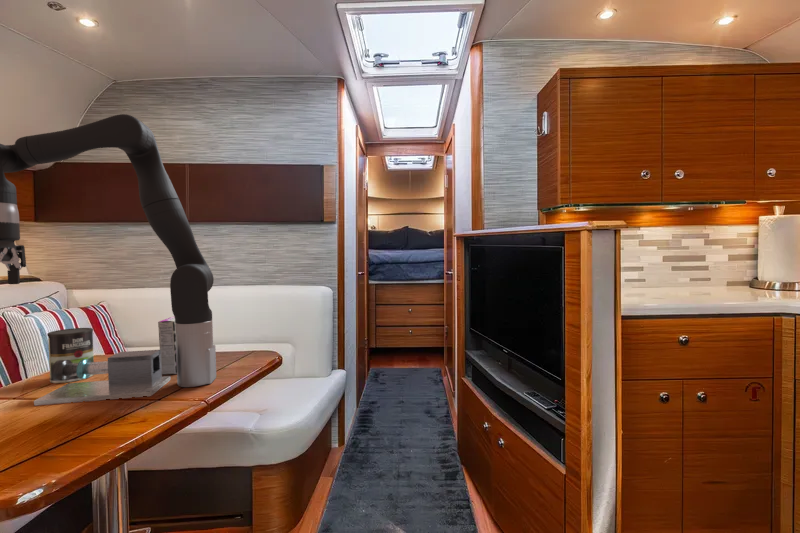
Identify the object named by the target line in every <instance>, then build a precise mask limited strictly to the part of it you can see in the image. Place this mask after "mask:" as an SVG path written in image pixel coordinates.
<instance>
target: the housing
mask: <svg viewBox="0 0 800 533" xmlns="http://www.w3.org/2000/svg"><path fill="white" fill-rule="evenodd" d="M107 361H108V375H107V377H108V379H107V380H96V381H82V382H80V381H79V382H67V383H66V384H64V385H63V386H60V387H59V388H57V389H55V390H52V391H50V392H49V393H46V394H45V395H43V396H40V397H39V398H37V399H35V400H33V404H34V405H33V406H49V405H59V404H60V405H61V404H71V402H73V403H83V401H85V402H95V401H107V400H106V399H110V400H119V398H122V399H130V398H131V399H133V398H132V397H135V398H144V397H143V396H147V397H152V396H153V395H154V394H155V393H157V392H158V391H159V390H160V389H161V388H163V387H164V386H165V385H167V383H169V382H170V381H171V375H162V369H161V350H160V349H150V350H149V349H147V350H146V349H145V350H131V351H129V350H128V351H120V352H117V353H115V354H113V355H111V356H109V357H107Z"/></svg>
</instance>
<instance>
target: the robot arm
mask: <svg viewBox="0 0 800 533" xmlns="http://www.w3.org/2000/svg"><path fill="white" fill-rule="evenodd" d="M108 148H109V149H110V148H112V149H114V148H118V149H119V150H121V151H123V152H124V153H125V155H126V156H127V158H128V160H129V161H130V163H131V164H132V167H133V169H134V171H135V174H136V178H137V183H138V184H137V185H138V195H139V196H138V197H139V202H140V205H141V207H142V210H143V212H144V215H145V217H146V220H147V222H148V224H149V226H150V227H151V229H152V230H153V231H154V233H155V235H156V236H157V238H159V240H160V241H161V242H162V244H163V245H164V246H165V247H166V249H167V250H168V251H169V253H170V255H171V257H172V260H173V262H174V264H175V268H176V269H175V270H173V273H172V274H171V277H170V281H169V282H170V283H169V284H170V285H169V289H170V290H169V291H170V292H169V293H170V303H171V304H170V305H171V312H172V314H173V316H174V317H175V333H176V361H177V374H176V382H177V386H178V387H182V388H194V387H199V386H204V385H209V384H212V383H213V382H214V381H215V379H217V357H216V355H217V354H216V353H217V352H216V351H217V350H216V345H215V344H214V332H213V331H214V330H213V328H214V327H213V311H212V309H211V308H210V305H209V294H208V293H209V292H210V290H211V289H212V288H213V285H214V280H215V279H214V275H213V272H212V270H211V268H210V267H209V265H208V263H207V261H206V259H205V257H204V255H203V254H202V252H201V250H200V248H199V246H198V244H197V241H196V239H195V236H194V232H193V230H192V227H191V225H190V223H189V220H188V218H187V215H186V212H185V209H184V208H183V205H182V202H181V201H180V198H179V196H178V194H177V192H176V190H175V187H174V185H173V183H172V180H171V178H170V176H169V174H168V173H167V171H166V169H165V166H164V163H163V160H162V157H161V154H160V151H159V147H158V144H157V140H156V138H155V135H154V132H153V131H152V129H150V127H149V126H148V125H146V124H145V123H143V121H141V120H140V119H138V118H137V117H136V116H133V115H131V114H127V113H126V114H124V113H123V114H122V113H121V114H116V115H110V116H109V117H106V118H103V119H100V120H96V121H93V122H90V123H87V124H83V125H79V126H76V127H72V128H67V129H63V130H59V131H52V132H47V133H45V132H44V133H38V134H33V135H32V134H31V135H26V136H21V137H19V138H17V139H16V140H15V142H14V144H7V145H6V144H2V143H0V263H1V264H3V265H4V266H5V267H6V269H7V283H8V284H9V285H19V284H20V283H21V275H20V270H22V268H26V267H27V262H26V261H27V259H26V258H27V257H26V249H25V245H24V244H23V245H21V244H18V245H17V244H15V242H17V241H20V240H21V229H20V213H19V209H18V198H17V197H18V196H17V187H16V185H15V184H14V183H12V181H10V180H9V179H7V178H6V174H9V173H17V172H22V171H24V170H27V169H30V168H33V167H34V166H37V165H44V164H51V163H57V162H60V161H61V162H62V161H66V160H68V159H72V158H74V157H76V156H78V155H81V154H83V153H85V152H89V151H91V150H95V149H97V150H98V149H108ZM5 173H6V174H5Z"/></svg>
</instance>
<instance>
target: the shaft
mask: <svg viewBox="0 0 800 533" xmlns="http://www.w3.org/2000/svg"><path fill="white" fill-rule="evenodd" d="M107 374H108V360H107V361H106V360H105V361H104V360H103V361H94V362H91V360H89V359H82V360H81V361H80V362H79V363H72V362H71V361H70V360H58V361H56V362H55V363H54V365H53V366H52V370H51V376H52V379H53V380H54V381H66V380H68V379H69V378H70V377H71V376H78V378H79V379H83V380H87V379H88V377H89V376H90V375H93V376H95V375H107ZM89 378H90V377H89Z"/></svg>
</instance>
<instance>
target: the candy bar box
mask: <svg viewBox="0 0 800 533" xmlns="http://www.w3.org/2000/svg"><path fill="white" fill-rule="evenodd" d="M157 324H158V342H159V350H161V369H162V376H171V375H177V361H176V333H175V317H174V315H173V316H171V317H168V318H165V319H162V320H160V321H158V322H157Z"/></svg>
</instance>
